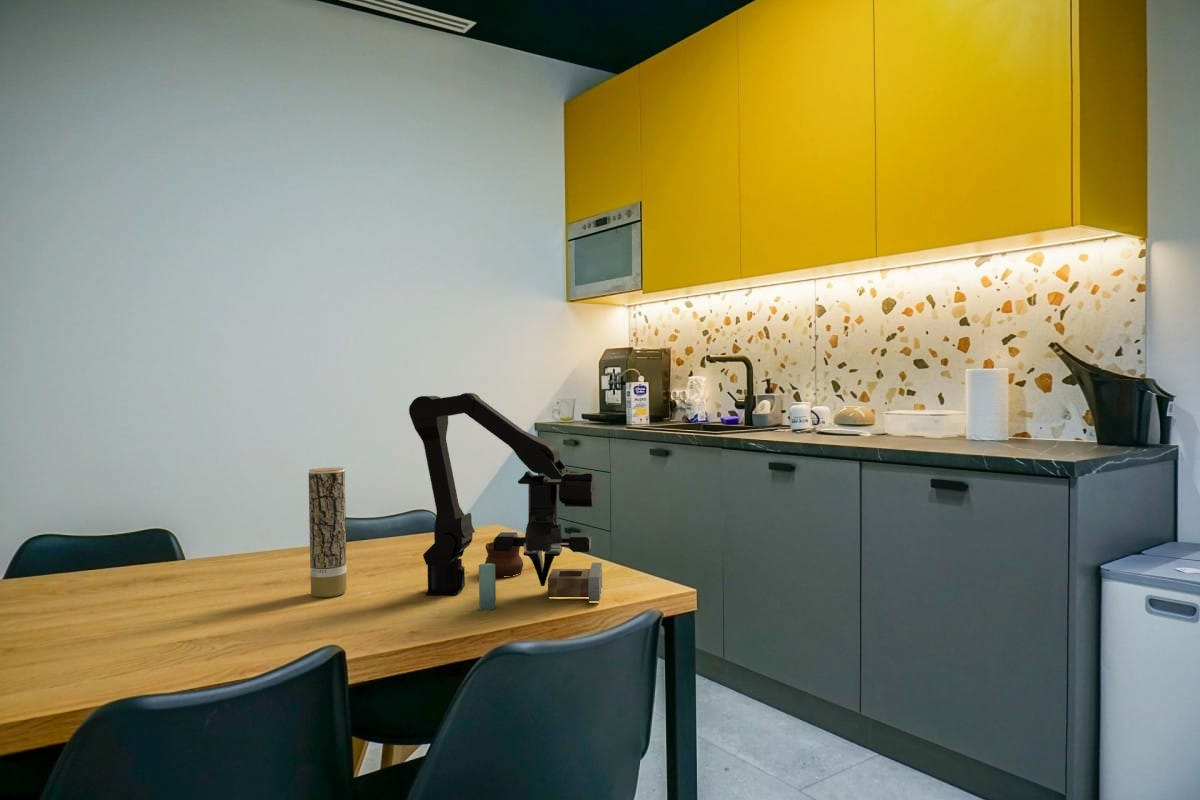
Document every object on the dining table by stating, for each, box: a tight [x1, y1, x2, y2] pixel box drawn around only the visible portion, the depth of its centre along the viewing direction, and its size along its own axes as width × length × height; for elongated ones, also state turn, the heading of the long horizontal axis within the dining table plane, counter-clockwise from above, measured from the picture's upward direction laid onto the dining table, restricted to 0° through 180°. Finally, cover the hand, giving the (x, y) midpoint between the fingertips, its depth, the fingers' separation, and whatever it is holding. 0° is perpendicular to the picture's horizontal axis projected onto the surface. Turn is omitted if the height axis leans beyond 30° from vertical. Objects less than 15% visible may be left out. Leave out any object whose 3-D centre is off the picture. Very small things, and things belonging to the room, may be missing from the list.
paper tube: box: [308, 467, 348, 598], centre depth 152 cm, size 7×7×25 cm
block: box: [547, 568, 591, 598], centre depth 150 cm, size 8×8×4 cm
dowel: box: [478, 563, 497, 611], centre depth 141 cm, size 3×3×8 cm
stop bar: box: [588, 562, 603, 602], centre depth 149 cm, size 2×12×5 cm, turn 177°
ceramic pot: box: [484, 541, 524, 577], centre depth 168 cm, size 18×18×7 cm
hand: (543, 585), depth 150 cm, fingers closed
